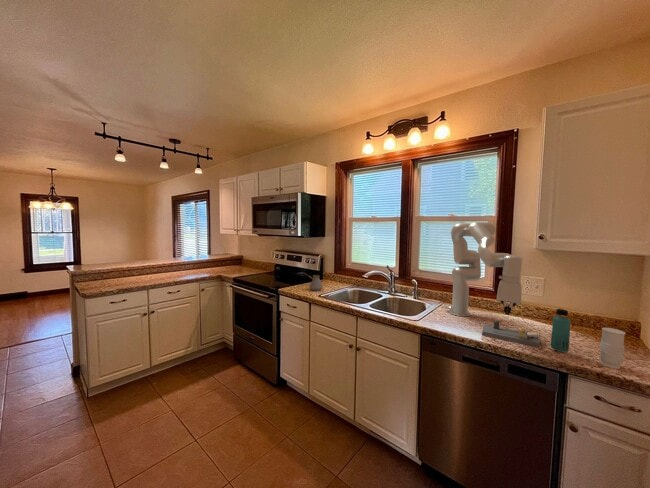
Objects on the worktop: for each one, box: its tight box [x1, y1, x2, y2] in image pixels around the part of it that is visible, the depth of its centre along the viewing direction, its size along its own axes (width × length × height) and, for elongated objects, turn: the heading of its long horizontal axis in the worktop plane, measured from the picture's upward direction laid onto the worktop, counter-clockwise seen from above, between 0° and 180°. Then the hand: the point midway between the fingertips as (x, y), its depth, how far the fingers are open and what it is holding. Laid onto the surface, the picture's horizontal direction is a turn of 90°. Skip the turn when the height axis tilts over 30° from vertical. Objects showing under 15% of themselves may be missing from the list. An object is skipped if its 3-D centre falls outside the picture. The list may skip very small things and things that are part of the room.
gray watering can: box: [300, 271, 323, 292], centre depth 235 cm, size 21×12×15 cm, turn 62°
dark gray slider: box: [493, 319, 500, 329], centre depth 146 cm, size 3×3×4 cm
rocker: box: [527, 331, 539, 338], centre depth 134 cm, size 4×4×1 cm
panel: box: [481, 324, 541, 348], centre depth 139 cm, size 24×13×3 cm, turn 56°
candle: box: [598, 327, 627, 370], centre depth 111 cm, size 7×7×15 cm
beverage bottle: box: [550, 308, 572, 353], centre depth 123 cm, size 6×7×20 cm
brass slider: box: [518, 328, 526, 339], centre depth 134 cm, size 3×3×4 cm
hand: (506, 313), depth 138 cm, fingers closed
